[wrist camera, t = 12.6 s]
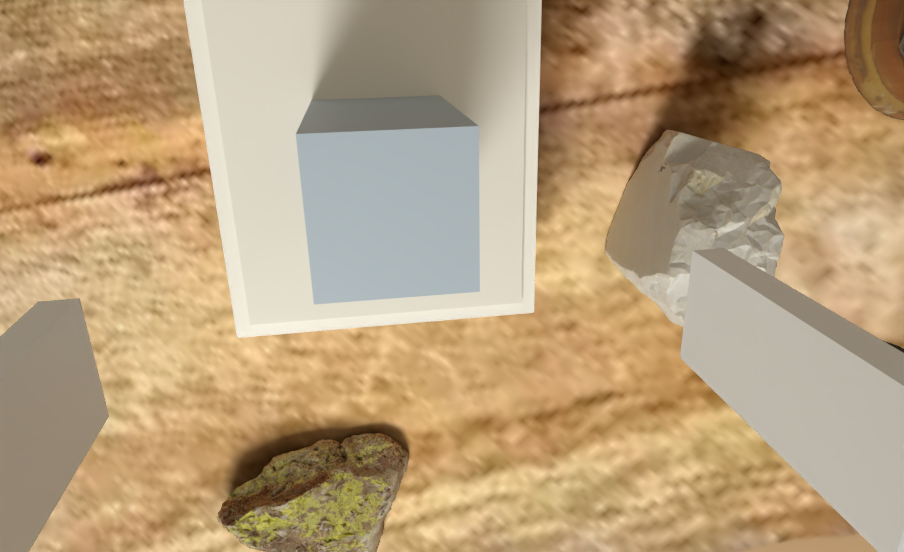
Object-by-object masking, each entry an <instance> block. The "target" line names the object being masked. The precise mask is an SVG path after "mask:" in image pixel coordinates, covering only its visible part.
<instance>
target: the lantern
mask: <svg viewBox="0 0 904 552" xmlns="http://www.w3.org/2000/svg"><path fill="white" fill-rule="evenodd" d="M845 22H846V26H845V31H844V37H845V55H846V59H847V64H848V68H849V73H850V74H851V75H852V76H854V79H853V82H854V84H855V86H856V87H857V89H858V91H859V92H860V93H861V95H862V96H863V97H864V98H865V99H866V100H867V101H868V103H869V104H870V105H871V106H872V107H873V108H874V109H876V110H877V111H880V112H882V113H883V114H884V115H886V116H889V117H892V118H896V119H901V120H904V0H850V2H849V9H848V11H847V15H846V19H845Z"/></svg>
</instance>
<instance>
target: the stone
mask: <svg viewBox="0 0 904 552" xmlns="http://www.w3.org/2000/svg"><path fill="white" fill-rule="evenodd" d="M781 189H782V185H781V182H780V179H779V178H778V177H777V176H776V175H775V174H774V172H773V171H772V170H771V169H770V161H768V160H767V159H765V158H764V157H762V156H761V155H759V154H756V153H753V152H750V151H746V150H742V149H739V148H735V147H731V146H727V145H724V144H721V143H717V142H713V141H710V140H706V139H702V138H699V137H695V136H692V135H689V134H685V133H682V132H677V131H673V130H665V131H664V133H663V134H662V136H661V137H660V139H659V140H658V141H657V142H655V143H654V144H653V145H652V147H651V148H649V149H648V151H647V152H646V154H645V155H644V156H643V158H642V159H641V161H640V163H639V166H638V168H637V169H636V171H635V172H634V173H633V176H632V177H631V178H630V180H629V181H628V183H627V186H626V188H625V190H624V193H623V196H622V198H621V201H620V203H619V206H618V208H617V211H616V214H615V216H614V219H613V221H612V224H611V226H610V229H609V233H608V236H607V245H606V249H605V253H606V254H607V256H608V257H609V258H610V259H611V261H612V262H613V263H614V264H615V265H616V266H617V268H618V269H619V270H620V271H621V273H622V274H623V275H624V276H625V278H627V279H628V280H630V281H631V282H632V283H633V284H634V285H635V286H636V287H637V289H638V290H639V291H640V292H642V293H644V294H645V295H646V296H648V297H649V298H650V299H651V300H653V301H654V302H655V303H656V304H657V305H658V307H659V308H660V309H661V310H662V311H663V312H664V314H665V315H666V316H667V318H668V319H669V320H670V321H671V322H673V323H676V324H678V325H680V326H683V327H684V320H685V311H686V303H687V294H688V286H689V277H690V269H691V260H692V252H693V250H705V249H718V248H725V249H726V250H728V251H730V252H731V253H733V254H735V255H737V256H738V257H740V258H742V259H743V260H745V261H747V262H749V263H750V264H752V265H754V266H755V267H757V268H759V269H761V270H762V271H764V272H766V273H767V274H769V275H771V276H773V277H774V278H775V269H776V267H777V260H778V258H779V257H780V252H781V249H782V246H783V239H784V235H783V233H782V231H781V229H780V227H779V225H778V223H777V221H776V220H775V213H776V209H775V205H776V204H777V202H778V199H779V196H780V194H781Z"/></svg>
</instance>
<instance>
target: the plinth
mask: <svg viewBox="0 0 904 552" xmlns="http://www.w3.org/2000/svg"><path fill="white" fill-rule="evenodd" d="M183 1H184V7H185V13H186V19H187V26H188V32H189V38H190V44H191V51H192V57H193V63H194V70H195V76H196V82H197V88H198V95H199V101H200V107H201V113H202V120H203V126H204V132H205V138H206V145H207V151H208V157H209V163H210V170H211V176H212V182H213V188H214V195H215V201H216V207H217V214H218V220H219V226H220V232H221V239H222V245H223V251H224V257H225V264H226V270H227V276H228V282H229V289H230V295H231V301H232V307H233V314H234V320H235V326H236V332H237V338H241V337H252V336H264V335H276V334H288V333H299V332H311V331H323V330H335V329H347V328H358V327H370V326H382V325H394V324H405V323H417V322H429V321H441V320H453V319H464V318H476V317H488V316H500V315H511V314H523V313H534V289H535V249H536V210H537V170H538V130H539V91H540V51H541V12H542V0H183ZM438 95H440V96H441V97H442V98H444V99H445V100H446V101H447V102H449V103H450V104H451V105H453V106H454V107H455V108H456V109H458V110H459V111H460V112H462V113H463V114H464V115H465V116H467V117H468V118H469V119H471V120H472V121H473V122H474V123H476V124H477V125H478V126H479V221H480V292H470V293H457V294H444V295H431V296H418V297H405V298H392V299H379V300H366V301H354V302H341V303H328V304H315V305H314V300H313V291H312V282H311V272H310V263H309V254H308V244H307V235H306V225H305V216H304V207H303V197H302V188H301V179H300V169H299V160H298V151H297V141H296V132H297V130H298V128H299V126H300V124H301V122H302V119H303V117H304V115H305V113H306V111H307V109H308V106H309V104H310V102H311V100H331V99H358V98H384V97H411V96H438Z"/></svg>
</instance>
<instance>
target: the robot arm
mask: <svg viewBox="0 0 904 552" xmlns="http://www.w3.org/2000/svg"><path fill="white" fill-rule="evenodd" d="M680 358H681V359H682V360H683V361H684V362H685V363H686V364H687V365H688V366H689V367H690V368H691V369H692V370H693V371H694V372H695V373H696V374H697V375H698V376H699V377H701V378H702V379H703V380H704V381H705V382H706V383H707V384H708V385H709V386H710V387H711V388H712V389H713V390H714V391H715V392H716V393H717V394H718V395H719V396H720V397H721V398H722V399H723V400H724V401H725V402H726V403H727V404H728V405H729V406H730V407H731V408H732V409H733V410H734V411H735V412H736V413H737V414H738V415H739V416H740V417H741V418H742V419H743V420H744V421H745V422H746V423H747V424H748V425H749V426H750V427H751V428H753V429H754V430H755V431H756V432H757V433H758V434H759V435H760V436H761V437H762V438H763V439H764V440H765V441H766V442H767V443H768V444H769V445H770V446H771V447H772V448H773V449H774V450H775V451H776V452H777V453H778V454H779V455H780V456H781V457H782V458H783V459H784V460H785V461H786V462H787V463H788V464H789V465H790V466H791V467H792V468H793V469H794V470H795V471H796V472H797V473H798V474H799V475H800V476H801V477H802V478H804V479H805V480H806V481H807V482H808V483H809V484H810V485H811V486H812V487H813V488H814V489H815V490H816V491H817V492H818V493H819V494H820V495H821V496H822V497H823V498H824V499H825V500H826V501H827V502H828V503H829V504H830V505H831V506H832V507H833V508H834V509H835V510H836V511H837V512H838V513H839V514H840V515H841V516H842V517H843V518H844V519H845V520H846V521H847V522H848V523H849V524H850V525H851V526H852V527H853V528H854V529H856V530H857V531H858V532H859V533H860V534H861V535H862V536H863V537H864V538H865V539H866V540H867V541H868V542H869V543H870V544H871V545H872V546H873V547H874V548H875V549H876V550H877V551H878V552H904V349H903V348H901V347H899V346H896V345H894V344H891V343H888V342H885V341H883V340H881V339H879V338H877V337H875V336H874V335H872V334H870V333H869V332H867V331H865V330H863V329H862V328H860V327H858V326H857V325H855V324H853V323H851V322H850V321H848V320H846V319H845V318H843V317H841V316H839V315H838V314H836V313H834V312H833V311H831V310H829V309H827V308H826V307H824V306H822V305H821V304H819V303H817V302H815V301H814V300H812V299H810V298H809V297H807V296H805V295H803V294H802V293H800V292H798V291H797V290H795V289H793V288H791V287H790V286H788V285H786V284H785V283H783V282H781V281H779V280H778V279H776V278H774V277H773V276H771V275H769V274H767V273H766V272H764V271H762V270H761V269H759V268H757V267H755V266H754V265H752V264H750V263H749V262H747V261H745V260H743V259H742V258H740V257H738V256H737V255H735V254H733V253H731V252H730V251H728V250H726V249H725V248H718V249H705V250H693V252H692V260H691V269H690V277H689V286H688V294H687V303H686V311H685V320H684V328H683V337H682V345H681V354H680ZM108 417H109V414H108V410H107V406H106V402H105V398H104V394H103V390H102V386H101V382H100V378H99V374H98V370H97V366H96V362H95V358H94V354H93V350H92V346H91V342H90V338H89V334H88V330H87V326H86V322H85V318H84V315H83V311H82V307H81V303H80V299H66V300H53V301H41V302H37V303H36V304H35V305H34V306H33V307H32V308H31V309H30V310H29V311H28V312H27V313H25V314H24V315H23V316H22V317H21V318H20V319H19V320H18V321H17V322H16V323H15V324H14V325H12V326H11V327H10V328H9V329H8V330H7V331H6V332H5V333H4V334H3V335H2V336H0V552H29V550H30V549H31V547H32V545H33V544H34V542H35V540H36V539H37V537H38V535H39V533H40V532H41V530H42V528H43V527H44V525H45V523H46V522H47V520H48V518H49V517H50V515H51V513H52V511H53V510H54V508H55V506H56V505H57V503H58V501H59V500H60V498H61V496H62V495H63V493H64V491H65V489H66V488H67V486H68V484H69V483H70V481H71V479H72V478H73V476H74V474H75V473H76V471H77V469H78V467H79V466H80V464H81V462H82V461H83V459H84V457H85V456H86V454H87V452H88V451H89V449H90V447H91V445H92V444H93V442H94V440H95V439H96V437H97V435H98V434H99V432H100V430H101V429H102V427H103V425H104V423H105V422H106V420H107V418H108Z"/></svg>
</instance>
